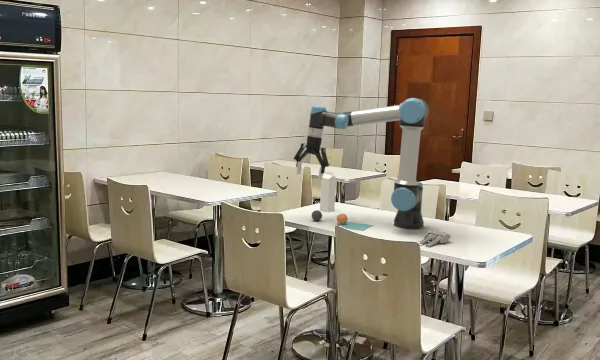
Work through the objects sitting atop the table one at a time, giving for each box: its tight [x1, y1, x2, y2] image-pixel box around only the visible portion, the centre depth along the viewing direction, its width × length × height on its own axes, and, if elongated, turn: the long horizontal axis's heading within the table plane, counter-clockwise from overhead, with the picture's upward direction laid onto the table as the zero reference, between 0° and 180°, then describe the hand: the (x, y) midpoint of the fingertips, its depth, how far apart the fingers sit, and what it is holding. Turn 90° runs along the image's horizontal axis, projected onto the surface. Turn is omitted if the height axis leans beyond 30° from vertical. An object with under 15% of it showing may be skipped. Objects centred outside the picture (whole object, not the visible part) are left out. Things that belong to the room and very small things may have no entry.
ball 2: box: [336, 213, 349, 225], centre depth 299 cm, size 6×6×6 cm
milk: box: [319, 171, 337, 213], centre depth 332 cm, size 6×6×22 cm
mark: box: [339, 221, 373, 231], centre depth 296 cm, size 14×14×1 cm
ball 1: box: [311, 209, 323, 222], centre depth 305 cm, size 6×6×6 cm
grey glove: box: [419, 229, 452, 248], centre depth 268 cm, size 10×20×5 cm, turn 139°
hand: (309, 176), depth 305 cm, fingers open, 13 cm apart
